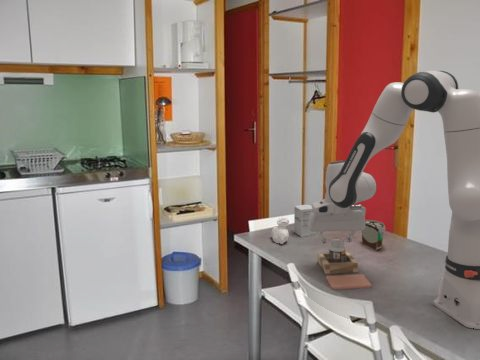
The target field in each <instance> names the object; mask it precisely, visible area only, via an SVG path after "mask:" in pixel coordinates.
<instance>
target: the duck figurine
mask: <svg viewBox="0 0 480 360" xmlns="http://www.w3.org/2000/svg"><path fill="white" fill-rule="evenodd" d="M289 223H290V221H289V219H288V218H287V217H281V218H280V217H279V218H278V220H276V224H277V225H276V226H274V227H272V230H271V233H270V234H271V239H272V241H273V242H274V243H276V244H277V243H278V244H279V243H280V244H281V245H284V243H286V242H287V241H288V240H289V237H290V234H289V233H290V232H289V230H288V229H287V227H288V225H289ZM280 244H279V245H280Z"/></svg>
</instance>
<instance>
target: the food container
mask: <svg viewBox="0 0 480 360" xmlns="http://www.w3.org/2000/svg"><path fill="white" fill-rule="evenodd" d="M385 231H386V226H385V224H384V223H383V222H382V221H378V220H373V219H365V228H364V230H361V244H362V245H363V246H364V247H367V248H369V249H371V250H373V251H375V252H379V251H381V250H382V247H383V240H384V239H383V238H384V232H385Z"/></svg>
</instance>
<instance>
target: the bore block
mask: <svg viewBox="0 0 480 360" xmlns="http://www.w3.org/2000/svg"><path fill="white" fill-rule="evenodd" d="M317 263H318V264H319V266H320V268H321V270H322V271H323V273H324V274H325V275H330V274H349V273H352V274H353V273H358V270H359V269H358V267H359V263H358V262H357V260H356V259H355V258H354V257H353V255H352V254H351V253H350V251H345V262H334V263H329V252H318V253H317Z"/></svg>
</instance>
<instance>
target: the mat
mask: <svg viewBox="0 0 480 360" xmlns="http://www.w3.org/2000/svg"><path fill="white" fill-rule="evenodd" d="M325 280H326V282H328V285H329V286H330V287H331V289H332V290H349V289H350V290H351V289H367V288H369V289H370V288H371V289H372V287H373V285H372V284H371V282H370V281H369V279H367V277H366V276H365V275H364V274H363V273H362V274H345V275H341V274H340V275H326V276H325Z"/></svg>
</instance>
